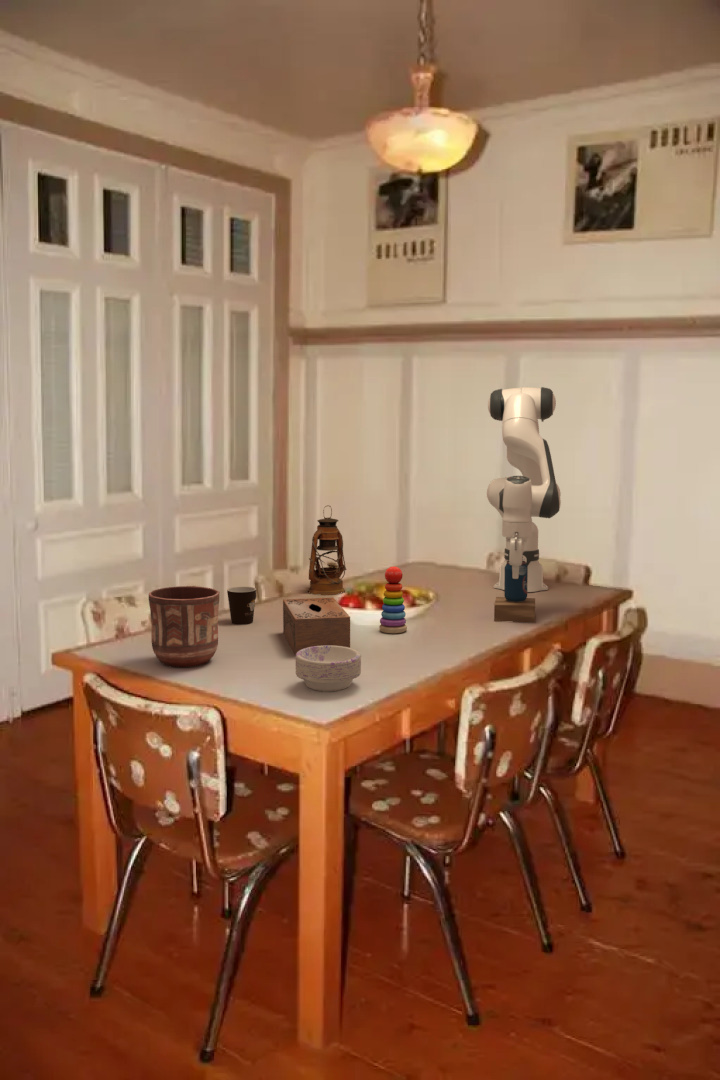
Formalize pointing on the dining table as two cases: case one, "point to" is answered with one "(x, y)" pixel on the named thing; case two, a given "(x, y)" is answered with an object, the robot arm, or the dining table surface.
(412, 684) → the dining table surface
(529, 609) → the block
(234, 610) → the coffee mug
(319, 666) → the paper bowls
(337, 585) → the lantern
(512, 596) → the soda can
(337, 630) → the tissue box cover
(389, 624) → the stacking toy
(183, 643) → the pottery
